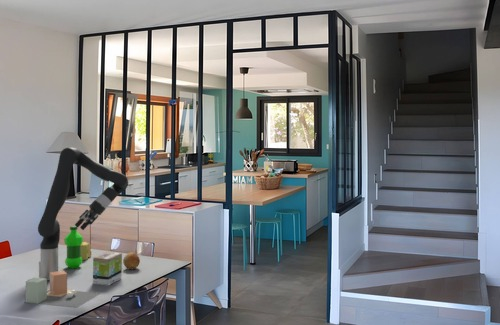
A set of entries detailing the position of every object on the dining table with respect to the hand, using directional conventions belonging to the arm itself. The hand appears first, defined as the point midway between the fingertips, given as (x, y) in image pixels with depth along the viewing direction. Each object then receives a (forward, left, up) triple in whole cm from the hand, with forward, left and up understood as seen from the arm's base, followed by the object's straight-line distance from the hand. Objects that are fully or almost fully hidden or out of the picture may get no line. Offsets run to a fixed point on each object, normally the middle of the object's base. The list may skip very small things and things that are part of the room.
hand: (78, 227), depth 258 cm
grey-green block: (-7, -25, -31) cm, 41 cm away
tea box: (+9, +14, -32) cm, 36 cm away
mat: (+3, -18, -32) cm, 37 cm away
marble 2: (+6, -14, -31) cm, 35 cm away
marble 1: (+6, -18, -31) cm, 36 cm away
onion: (+10, +41, -32) cm, 53 cm away
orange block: (-4, -12, -31) cm, 34 cm away
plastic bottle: (-25, +35, -32) cm, 54 cm away
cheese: (-33, +56, -32) cm, 73 cm away
